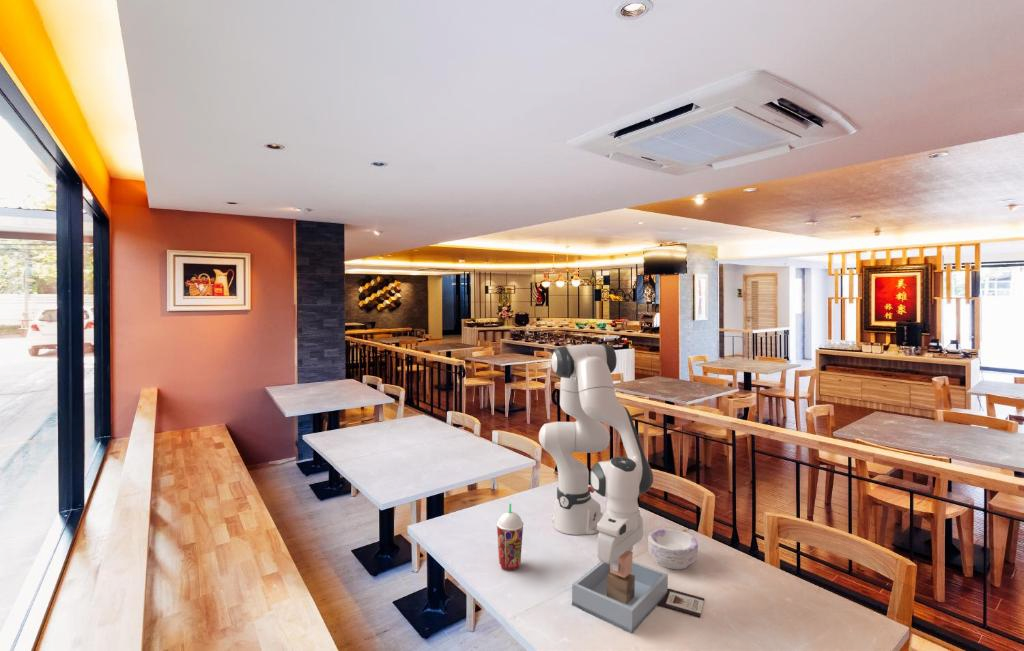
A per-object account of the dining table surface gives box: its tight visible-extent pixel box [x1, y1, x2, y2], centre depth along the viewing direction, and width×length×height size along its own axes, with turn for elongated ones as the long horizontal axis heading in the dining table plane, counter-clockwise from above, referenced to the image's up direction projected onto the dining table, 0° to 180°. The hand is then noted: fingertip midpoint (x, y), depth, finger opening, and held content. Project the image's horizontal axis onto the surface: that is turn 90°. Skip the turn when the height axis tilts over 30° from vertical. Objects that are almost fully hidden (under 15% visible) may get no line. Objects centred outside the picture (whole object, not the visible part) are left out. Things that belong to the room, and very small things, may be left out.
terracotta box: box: [610, 550, 633, 578], centre depth 140 cm, size 4×4×6 cm
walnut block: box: [607, 572, 635, 604], centre depth 141 cm, size 5×6×6 cm
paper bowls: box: [647, 528, 699, 571], centre depth 161 cm, size 15×15×8 cm
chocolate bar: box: [657, 587, 705, 618], centre depth 141 cm, size 9×1×18 cm
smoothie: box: [496, 503, 524, 571], centre depth 158 cm, size 8×8×20 cm
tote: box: [571, 560, 669, 634], centre depth 141 cm, size 22×18×6 cm
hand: (621, 565), depth 140 cm, fingers closed on terracotta box, 4 cm apart
